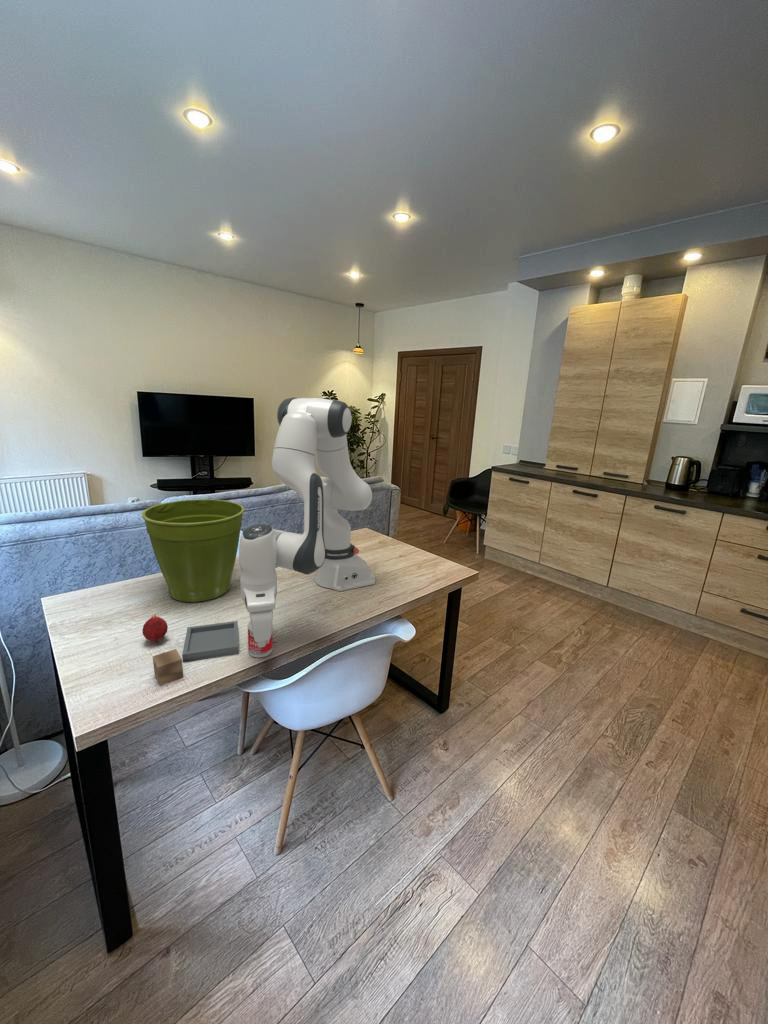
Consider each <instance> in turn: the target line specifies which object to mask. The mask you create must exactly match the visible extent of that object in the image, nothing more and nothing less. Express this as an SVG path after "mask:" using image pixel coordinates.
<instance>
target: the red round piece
mask: <svg viewBox="0 0 768 1024" xmlns="http://www.w3.org/2000/svg"><path fill="white" fill-rule="evenodd" d="M168 629H169V627H168V623H167V621H166V620H165V619H164V618H162V617H160V616H157V614H156V613H153V614H151V616H150V618H149V619H147V621H145V623H143V626H142V629H141V630H142V636H143V637H144V638H145V639H146V640H147V641H149V642H153V643H157V642H159V641H160V640H162V639H163V638H164V637H165V635H166V634H167V633H168Z"/></svg>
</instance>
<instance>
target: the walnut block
mask: <svg viewBox="0 0 768 1024" xmlns="http://www.w3.org/2000/svg"><path fill="white" fill-rule="evenodd" d="M152 664H153V673H154V676H155V679H156V681H157V683H158V686H159V687H161V686H163V684H164V685H166V683H167V684H169V683H172V682H175V681H177V680H180V679H183V678H184V666H183V658H182V656H181V655H180V653H179V651H178V650H177V648H174V649H171V650H168V651H165V652H162V653H159V654H156V655H153V656H152Z"/></svg>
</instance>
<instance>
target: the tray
mask: <svg viewBox="0 0 768 1024" xmlns="http://www.w3.org/2000/svg"><path fill="white" fill-rule="evenodd" d="M238 624H239V622H238V620H234V621H226V622H220V623H219V622H218V623H210V624H202V625H195V626H188V627H186V634H185V638H184V642H183V643H184V644H183V648H182V649H183V650H182V655H181V658H182V663H189V662H195V661H201V660H206V659H212V658H213V659H214V658H220V657H226V656H233V655H238V654H239V625H238Z"/></svg>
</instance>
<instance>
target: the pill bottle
mask: <svg viewBox="0 0 768 1024" xmlns="http://www.w3.org/2000/svg"><path fill="white" fill-rule="evenodd" d="M249 619H250V620H249V622H248V623H247V646H248V650H247V651H248V654H249V656H251V657H253V658H265V657H267V656H269V655H271V653H272V651H273V650H274V648H273V647H274V643H273V642H274V641H273V639H274V637H273V635H274V634H273V632H274V631H273V630H274V629H273V627H274V626H273V623H272V632H271V638H270V640H268V641H265V646H264V647H260V648H259V647H258V642H255V640H254V636H253V630H252V624H251V618H250V617H249Z"/></svg>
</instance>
